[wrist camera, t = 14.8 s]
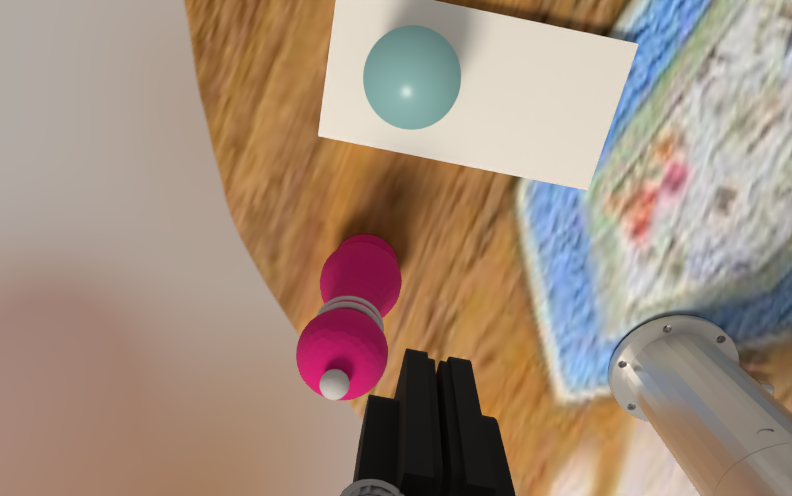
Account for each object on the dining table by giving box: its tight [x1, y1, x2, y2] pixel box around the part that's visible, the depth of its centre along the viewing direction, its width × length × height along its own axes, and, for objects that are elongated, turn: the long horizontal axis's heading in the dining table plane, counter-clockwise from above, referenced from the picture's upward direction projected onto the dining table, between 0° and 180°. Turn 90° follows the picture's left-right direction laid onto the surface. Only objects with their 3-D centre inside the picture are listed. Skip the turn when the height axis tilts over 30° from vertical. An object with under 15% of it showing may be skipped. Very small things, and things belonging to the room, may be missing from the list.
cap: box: [363, 25, 461, 130], centre depth 34 cm, size 7×7×6 cm
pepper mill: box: [296, 234, 402, 400], centre depth 36 cm, size 7×7×20 cm
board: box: [318, 0, 639, 190], centre depth 36 cm, size 24×12×7 cm, turn 79°
